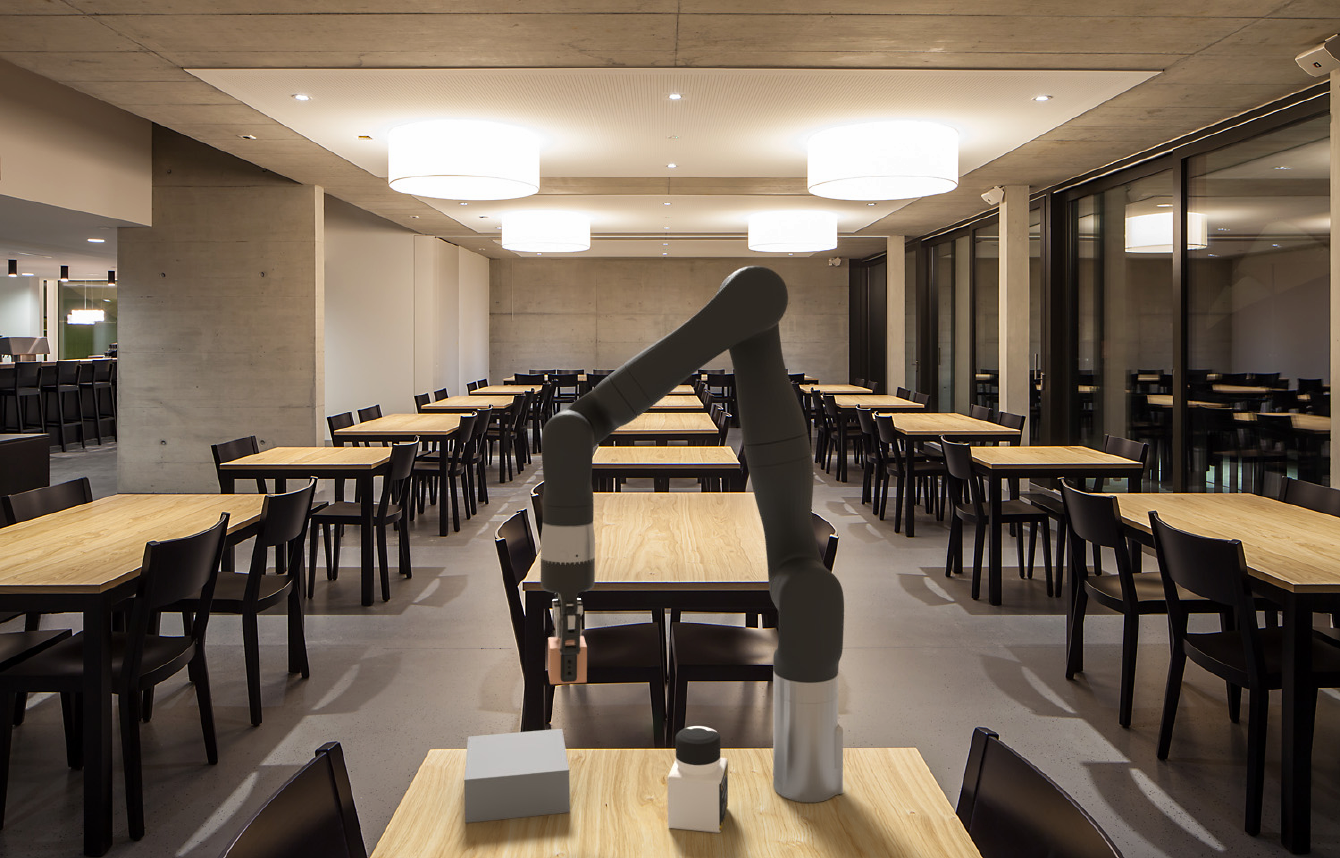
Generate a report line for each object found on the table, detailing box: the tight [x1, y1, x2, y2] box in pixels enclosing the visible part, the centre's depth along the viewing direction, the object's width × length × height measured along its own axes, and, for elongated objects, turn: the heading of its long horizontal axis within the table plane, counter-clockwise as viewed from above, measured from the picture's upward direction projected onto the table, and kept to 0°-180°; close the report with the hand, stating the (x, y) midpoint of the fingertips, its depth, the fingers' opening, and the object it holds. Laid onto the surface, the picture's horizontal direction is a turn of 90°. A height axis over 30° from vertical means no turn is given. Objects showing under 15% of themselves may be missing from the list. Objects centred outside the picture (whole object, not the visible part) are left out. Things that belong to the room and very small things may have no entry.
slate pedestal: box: [463, 728, 571, 824], centre depth 125 cm, size 14×14×6 cm
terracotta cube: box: [547, 635, 588, 685], centre depth 123 cm, size 5×5×5 cm
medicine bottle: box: [667, 725, 729, 834], centre depth 118 cm, size 7×7×12 cm
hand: (566, 673), depth 123 cm, fingers closed on terracotta cube, 5 cm apart
